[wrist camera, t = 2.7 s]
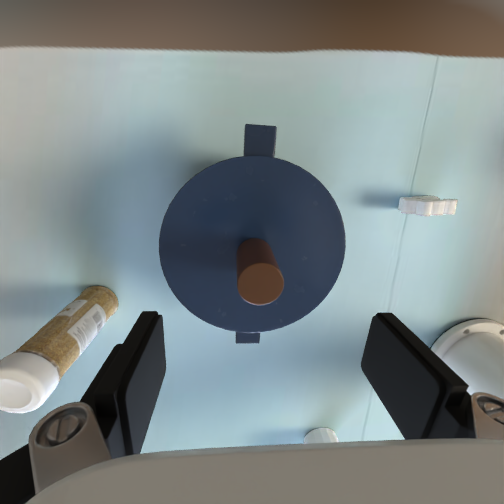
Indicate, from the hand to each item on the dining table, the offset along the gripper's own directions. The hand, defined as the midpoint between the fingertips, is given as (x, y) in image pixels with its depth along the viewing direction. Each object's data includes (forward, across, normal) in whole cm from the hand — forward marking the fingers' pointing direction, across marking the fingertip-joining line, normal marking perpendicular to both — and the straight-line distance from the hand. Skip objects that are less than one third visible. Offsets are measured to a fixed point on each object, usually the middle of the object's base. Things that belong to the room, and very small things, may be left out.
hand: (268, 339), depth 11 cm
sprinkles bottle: (+20, +18, +10) cm, 28 cm away
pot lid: (+11, 0, 0) cm, 11 cm away
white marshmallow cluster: (+20, -19, -4) cm, 28 cm away
